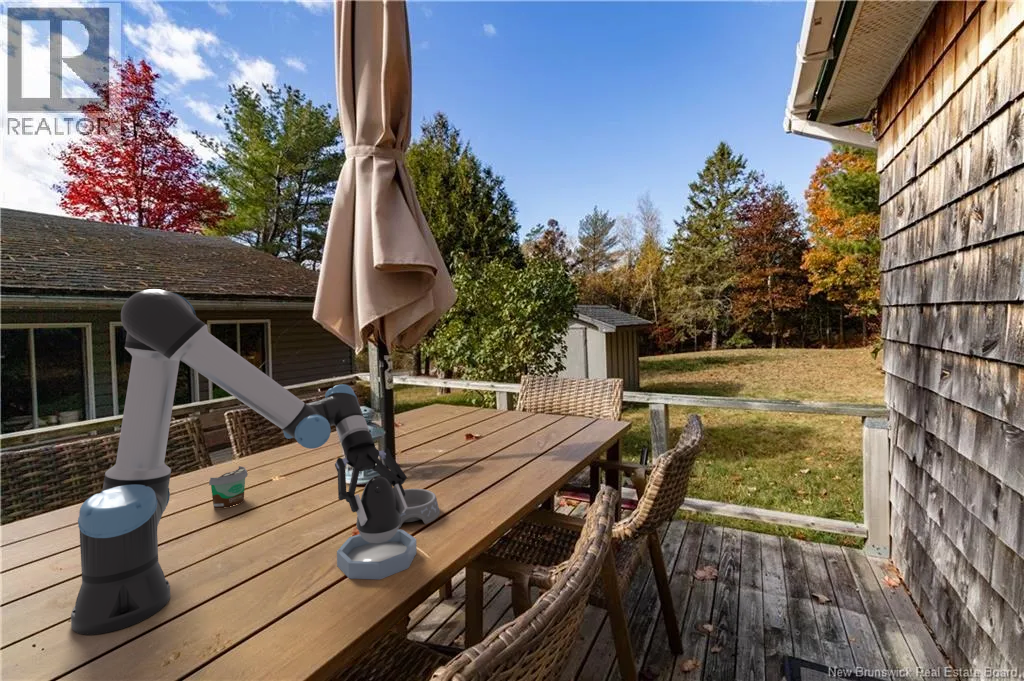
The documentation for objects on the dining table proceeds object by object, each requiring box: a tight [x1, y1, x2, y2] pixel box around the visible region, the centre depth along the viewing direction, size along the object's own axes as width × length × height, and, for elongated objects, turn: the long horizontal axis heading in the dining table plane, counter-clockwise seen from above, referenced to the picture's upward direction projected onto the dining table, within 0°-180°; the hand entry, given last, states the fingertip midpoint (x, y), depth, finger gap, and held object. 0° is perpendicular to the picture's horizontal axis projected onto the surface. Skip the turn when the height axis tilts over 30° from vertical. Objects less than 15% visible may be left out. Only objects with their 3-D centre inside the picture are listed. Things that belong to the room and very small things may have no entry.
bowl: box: [336, 528, 417, 580], centre depth 112 cm, size 17×17×4 cm
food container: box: [208, 465, 249, 509], centre depth 146 cm, size 12×6×10 cm, turn 168°
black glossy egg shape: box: [356, 475, 401, 543], centre depth 112 cm, size 10×10×15 cm
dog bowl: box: [398, 488, 441, 529], centre depth 138 cm, size 17×18×5 cm
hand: (384, 516), depth 110 cm, fingers closed on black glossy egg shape, 9 cm apart
